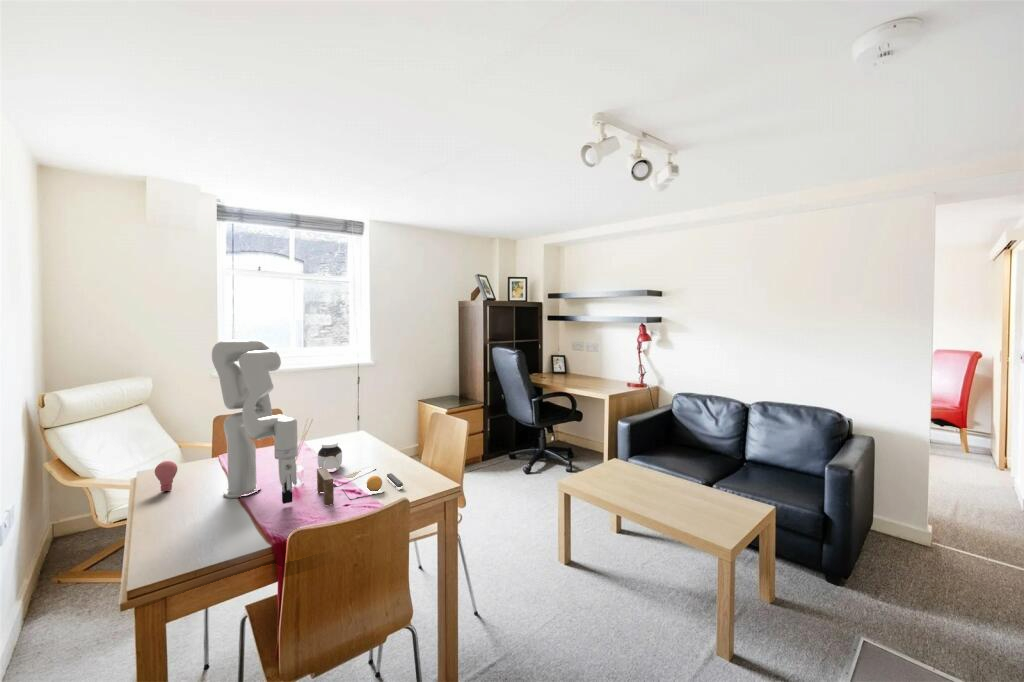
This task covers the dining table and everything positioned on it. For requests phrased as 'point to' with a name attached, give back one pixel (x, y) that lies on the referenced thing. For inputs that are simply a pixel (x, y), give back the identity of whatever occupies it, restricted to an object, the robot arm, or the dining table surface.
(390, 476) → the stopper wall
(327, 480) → the bridge
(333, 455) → the spread jar
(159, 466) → the light bulb
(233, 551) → the dining table surface
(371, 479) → the ball
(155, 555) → the dining table surface
